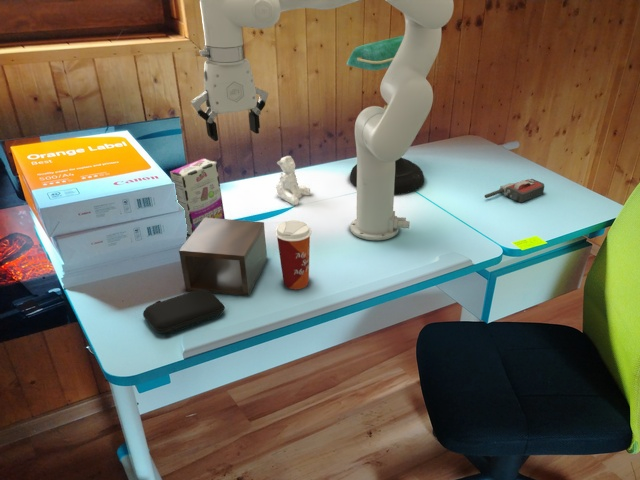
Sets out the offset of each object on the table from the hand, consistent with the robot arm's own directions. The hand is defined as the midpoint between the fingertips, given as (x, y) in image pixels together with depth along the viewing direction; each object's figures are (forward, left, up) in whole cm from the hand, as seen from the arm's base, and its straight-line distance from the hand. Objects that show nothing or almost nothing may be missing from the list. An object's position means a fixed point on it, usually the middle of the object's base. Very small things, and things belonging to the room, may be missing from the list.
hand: (234, 135), depth 139 cm
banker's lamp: (-30, -48, -28) cm, 63 cm away
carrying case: (+4, +31, -28) cm, 42 cm away
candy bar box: (+14, -8, -28) cm, 32 cm away
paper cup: (-16, +15, -28) cm, 35 cm away
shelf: (0, +14, -28) cm, 31 cm away
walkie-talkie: (-69, -43, -28) cm, 86 cm away
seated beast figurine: (-4, -30, -28) cm, 41 cm away
